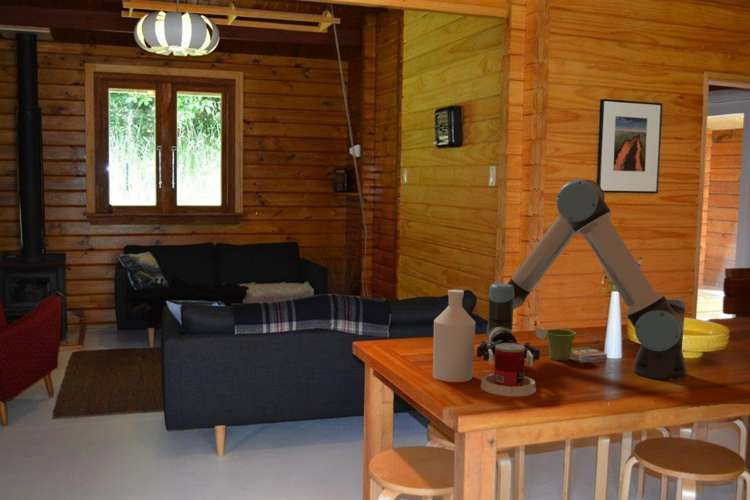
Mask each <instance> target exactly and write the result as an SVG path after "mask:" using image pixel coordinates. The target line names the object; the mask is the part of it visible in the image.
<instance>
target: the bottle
mask: <svg viewBox="0 0 750 500" xmlns="http://www.w3.org/2000/svg"><path fill="white" fill-rule="evenodd" d="M464 292H465V291H464V290H461V289H448V290H447V296H448V306H446V308H445V309H444V310H443V311H442V312H441V313H440V314H439V315H438V316H436V318H435V319H434V320H433V344H432V345H433V354H432V355H433V356H432V377H433V378H434V379H436V380H437V381H438V380H439V381H443V382H448V383H449V382H450V383H464V382H468V381H471V380H472V379H473V372H474V354H475V353H474V352H475V338H476V321H475V319H473V318H472V316H471V315H469V313H468V312H467V311H466V309H465V308H464V307H463V299H464V296H465V295H464V294H465V293H464Z"/></svg>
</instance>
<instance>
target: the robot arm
mask: <svg viewBox="0 0 750 500" xmlns="http://www.w3.org/2000/svg"><path fill="white" fill-rule="evenodd" d="M555 203H556V209H557V211H558V216H557V218H556V219H555V220H554V221H553V222H552V224H551V225H550V227H549V228H548V229H547V231H546V232H544V234H543V236H542V237H541V239H540V240H539V241H538V242H537V244H536V245H535V246H534V248H533V249H532V250H531V251H530V252H529V254H528V255H527V257H526V258H525V259H524V261H523V262H522V263H521V265H520V266H519V267H518V269H517V270H516V272H515V273H514V274H513V276H512V277H511V278H510V279H509V280H508V281H507V283H504V282H503V283H501V282H500V283H499V282H498V283H493V284H491V285H490V286H489V293H488V314H487V315H488V316H487V327H486V333H485V334H486V337H487V340H488V342H489V343H488V342H487V341H485V340H483V341H482V340H481V342H480V344H479V345H478V346H477V349H476V357H477V358H481V357H483V359H482V360H483V361H488V364H489V365H491V366H492V365H494V356H495V347H496V345H497V344H501V343H513V344H519V345H522V346H524V347H525V359H526V362H527V364H528V366H529V367H533V365H534V364H533V362H535V361H538V360H540V357H541V355H540V354H541V350H539V349H538V348H536V347H534V346H533V345H530V343H529V342H525V343H523V344H520V343H519V342H518V340H517V338H516V337H515V335H514V333H513V324H514V323H513V321H514V310H515V309H517V308H520V307H521V306H522V305H524V303H525V302H526V301H527V297H528V296H529V295H530V293H531V292H532V291H533V289H534V288H536V286H537V284H538V283H539V282H540V280H541V279H542V278H543V277H544V275H545V274H546V273H547V272H548V270H549V269H550V267H551V266H552V265H553V264H554V263H555V261H557V258H558V257H559V256H560V255H561V254H562V253H563V251H564V250H565V248H566V247H567V245H569V243H570V242H571V241H572V239H573V238H574V237H575V236H576V234H577V235H582V236H584V238H585V241H586V242H587V243H588V245H589V247H590V248H591V250H592V252H593V253H594V255H595V256H596V258H597V259H598V262H599V263H600V264H601V266H602V268H603V269H604V271H605V272H606V274H607V276H608V277H609V280H610V281H611V282H612V284H613V285H614V287H615V289H616V290H617V292H618V294H619V295H620V297H621V299H622V300H623V301H624V303H625V305H626V306H627V309H626V310H627V311H626V313H625V315H626V317H627V319H628V320H629V322H630V323H631V325H632V327H633V328H634V333H635V335H636V339H637V340H638V342H639V343H640V348H639V350H638V352H637V355H636V356H635V359H634V361H633V366H632V372H634V374H637V375H639V376H642V377H647V378H649V377H650V379H655V380H656V379H657V380H664V379H678V380H680V379H679V378H683V379H685V378H684V377H687V376H686V375H687V374H688V372H687V371H688V368H687V365H686V361H685V356H684V354H683V343H684V342H683V341H684V339H683V338H684V326H685V313H686V309H687V308H686V303H685V301H684V300H682V299H679V298H677V299H676V298H670V297H669V298H668V297H665V295H664V294H663V293H659V292H656V291H655V290H654V288H653V287H652V284H650V282H649V280H648V278H647V277H646V275H645V273H644V272H643V270H642V269H641V267H640V265H639V264H638V262H637V261H636V259H635V257H634V256H633V254H632V252H631V251H630V249H629V248H628V247H627V245H626V243H625V242H624V240H623V238H622V237H621V235H620V233H619V232H618V230H617V229H616V227H615V226H614V224H613V222H612V221H611V216H612V211H611V209H610V208H609V205H608V204H607V203H606V197H605V193H604V190H603V189H602V187H601V186H600V185H599V184H598V183H597V182H595V181H593V180H589V179H573V180H571V181H568V182H567V183H566V184H564V185H563V186H562V187H560V189H559V191H558V193H557V196H556V202H555Z"/></svg>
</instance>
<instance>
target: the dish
mask: <svg viewBox="0 0 750 500" xmlns="http://www.w3.org/2000/svg"><path fill="white" fill-rule="evenodd" d="M494 375H495V373H489V374H485V375H483V377H482V378H481V382H480V389H481V390H482V391H483V392H486V393H487V394H491V395H495V396H499V397H508V398H509V397H511V398H512V397H513V398H520V397H530V396H532V395H535V394H536V392H537V387H536V381H535V380H534V379H532V378H531V377H529V376H526V375H524V384H523V386H514V387H510V386H502V385H497V384H495V382H494Z"/></svg>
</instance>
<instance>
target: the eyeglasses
mask: <svg viewBox="0 0 750 500" xmlns="http://www.w3.org/2000/svg"><path fill="white" fill-rule="evenodd" d="M555 327H556V328H559V327H560V328H563V329H565V330H569V331H572V329H571V330H570V329H569V328H568V327H566V326H560V325H555V326H553V328H555ZM546 328H548V326H547V327H543V328H542V327H534V329H533V330H535V331H534V332H535V335H536V337H537V338H538V339H541V340H542V339H543V340H545V339H546V337H547V334H546V330H545V329H546ZM581 336H583V334H582V335H578V337H581ZM584 336H591V337H593V339H594V340H595V341H596V342H599V341H598V340H599V339H598V338H597V337H596V336H595V335H593V334H590V333H589V334H587V333H586V334H584Z"/></svg>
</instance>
